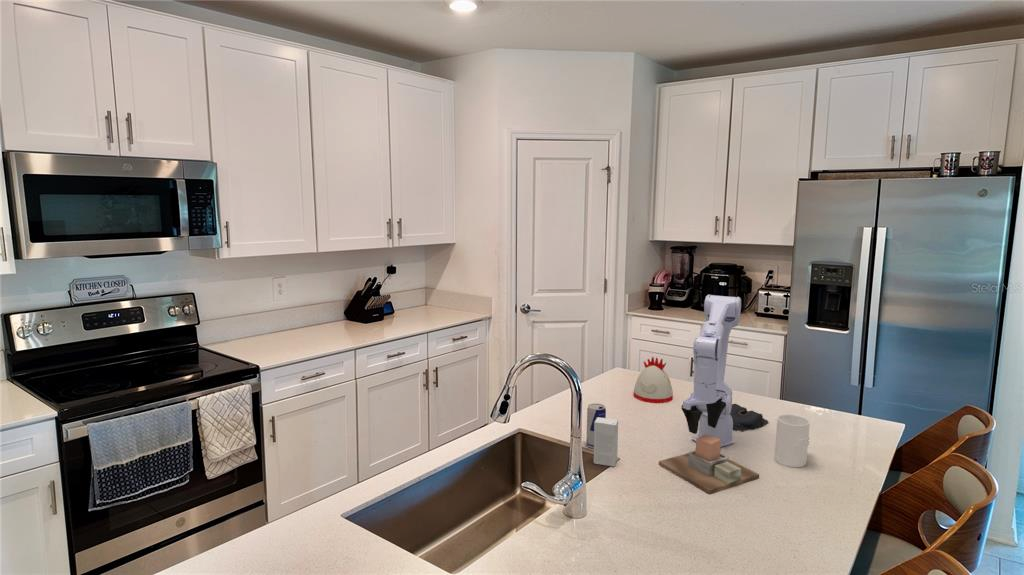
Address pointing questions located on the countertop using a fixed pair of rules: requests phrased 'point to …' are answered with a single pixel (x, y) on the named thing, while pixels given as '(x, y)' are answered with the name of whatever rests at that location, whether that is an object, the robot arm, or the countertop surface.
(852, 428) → the countertop surface
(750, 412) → the dark slate chunk
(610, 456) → the skincare box
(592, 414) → the energy drink
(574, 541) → the countertop surface
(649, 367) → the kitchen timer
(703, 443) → the terracotta block
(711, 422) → the robot arm
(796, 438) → the mug
